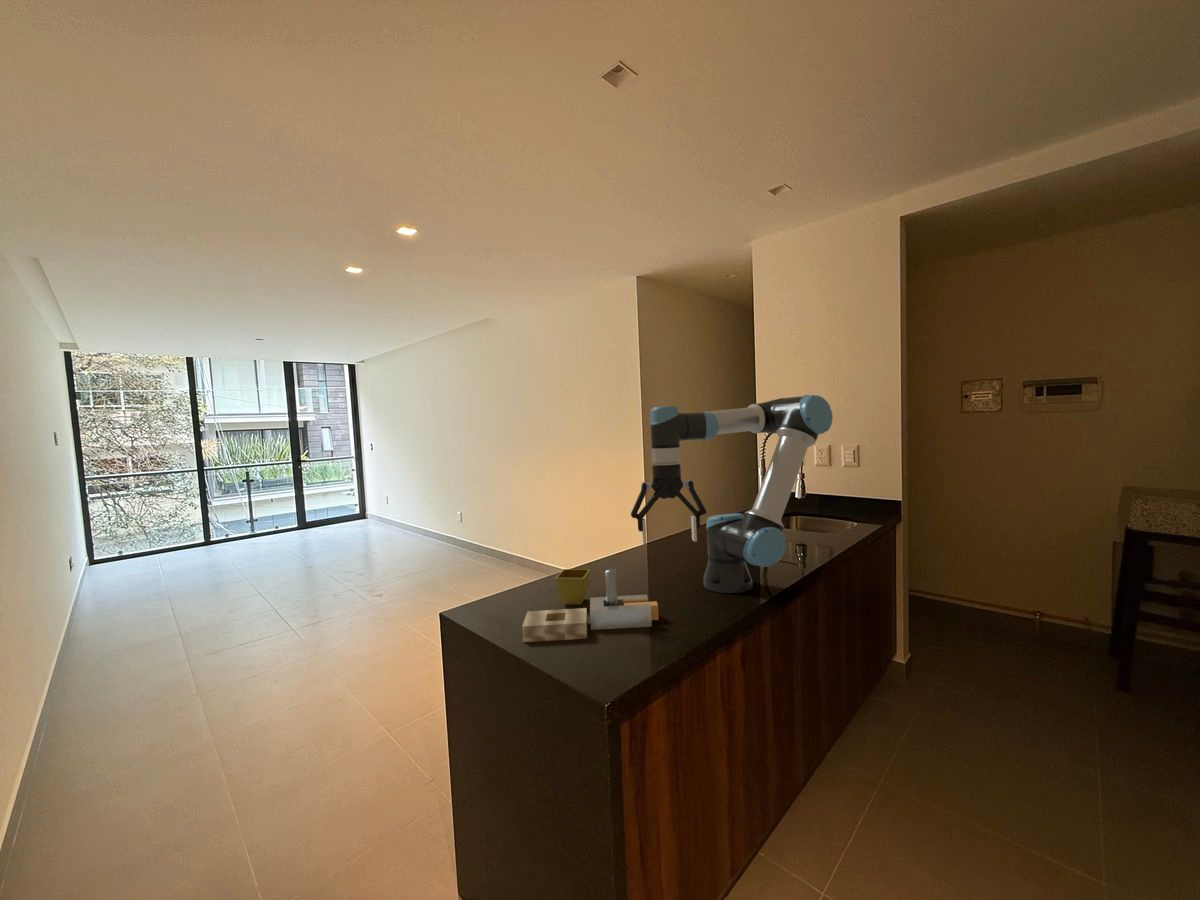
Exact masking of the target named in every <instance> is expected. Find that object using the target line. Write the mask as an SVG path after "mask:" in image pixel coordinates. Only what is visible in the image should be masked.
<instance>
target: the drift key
mask: <svg viewBox="0 0 1200 900" xmlns="http://www.w3.org/2000/svg"><path fill="white" fill-rule="evenodd" d="M640 604H650V606H651V620H652V621H659V617H660V615H659V605H658V602H657V600H656V601H648V602H636V603H624V605H640Z"/></svg>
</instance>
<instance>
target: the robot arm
mask: <svg viewBox="0 0 1200 900" xmlns="http://www.w3.org/2000/svg"><path fill="white" fill-rule="evenodd" d="M833 417H834V416H833V410H832V409H831V406H830V404H829V402H828V401H827V400H826V399H825V397H822V396H820V395H816V394H810V395H809V394H804V395H802V396H792V397H791V396H790V397H781V398H776V399H772V400H768V401H764V402H760V403H752V404H750V405H748V406H747V407H743V408H731V409H730V408H729V409H720V410H710V411H698V412H688V413H687V412H684V413H681V412H679V407H678V406H677V405H663V406H653V407H652V408H651V409H650V417H649V418H650V419H649V420H650V421H649V426H650V439H651V442H650V443H651V461H652V462H651V463H653V465H652V469H651V470H652V482H651V483H650V482H649V483H648V482H645V481H642V482H641V486H640V492H639V494H638V496H637V498H636V501H635V503H634V505H633V508H632V510H631V511H630V517H631V518H633V519H636V520H637V529H638V532H641V537H642V538H641V539H642V544H643V545H647V530H646V529H647V527H646V526H647V525H646V524H647V523H646V519H645V516H646V515H647V514H648V513H649V511H650V510H651V509H652V507H653V505H654V504H656V502H657V501H658V500H659V499H660V498H661V499H662V500H663V499H675V498H676V497H677V498H678V499H679V500H680V501H681V502H682V504H684V505H685V506H686V508H687V509H688V510H689V511H690V512H691V513H692V514H693V515H691V516H690V522H691V541H693V542H698V536H697V535H698V533H697V530H698V529H700V527H701V516H703V515H706V514H707V510H706V508H705V506H704V503H702V500H701V498H700V496H699V495H698V494H697V491H696V490H695V487H694V481H692V480H690V479H688V480H687V481H682V472H681V471H682V470H681V465H680V462H681V451H680V450H681V447H680V443H681V442H682V441H701V440H711V439H714V438H715V437H716V436H717V435H725V434H727V435H728V434H734V433H742V432H743V433H744V432H750V433H752V434H761V433H763V434H777V437H778V441H777V444H776V446H775V448H774V451H773V453H772V456H771V459H770V460H769V461H770V462H769V464H768V467H767V470H766V472H765V475H764V476H763V477H764V478H763V480H762V482H761V485H760V487H759V489H758V493H757V495H756V498H755V500H754V503H753V506H752V508H751V509H749V510H747V511H745V512H744V514H743V513H724V514H715V515H711V516H708V517H707V519H706V527H705V529H706V539H707V541H706V543H707V565H706V567H705V568H706V569H705V572H704V574H703V586H704V588H705V589H707V590H709V591H712V592H716V593H721V594H739V593H745V592H748V591H750V590H752V588H753V579H752V576H751V573H750V570H749V568H748V565H747V564H751V565H752V566H759V567H762V568H766V567H771V566H772V565H776V563H778V562H780V560H781V559H782V557H784V554H785V552H786V548H787V542H786V540H787V539H786V535H785V533H784V532H783V531H784V528H785V525H784V524H783V522H782V517H783V516H784V512H785V510H786V508H787V505H788V502H789V499H790V497H791V494H792V491H793V488H794V486H795V483H796V480H797V478H798V476H799V472H800V469H801V467H802V464H803V462H804V459H805V457H806V455H807V454H806V453H807V451H808V448H809V447H812V446H814V445H816V443H817V439H818V437H819V435H821V434H824V433H826V432H828V431H829V430H830V429H831V426H832V425H833ZM680 441H681V442H680ZM683 487H684V488H685V489H687V490H688V492H689V494H690V496H691V497H692V499H693V501H694V503H695V505H696V506H697V508H698V510H697V509H696V508H695V507H694V506H693V505H692V504H691V502H689V500H688V499H687V498H686V497H685V496H684V495H683V494H682V492H681V490H682V488H683ZM651 488H652V490H653V491H654V493H653V494H652V495H651V497H650V498H649V500H648V501H647V502H646V504H645V505H644V506H643V507H642V508H641V510H640V507H641V505H642V503H643V501H644V499H645V497H646V493H647V492H649V490H650V489H651Z"/></svg>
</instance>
